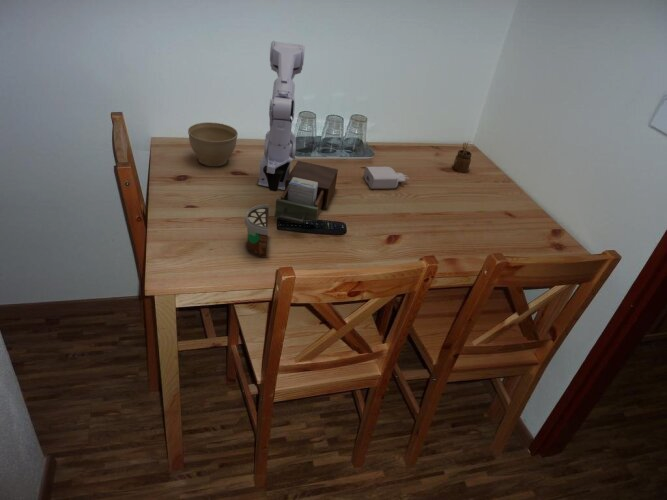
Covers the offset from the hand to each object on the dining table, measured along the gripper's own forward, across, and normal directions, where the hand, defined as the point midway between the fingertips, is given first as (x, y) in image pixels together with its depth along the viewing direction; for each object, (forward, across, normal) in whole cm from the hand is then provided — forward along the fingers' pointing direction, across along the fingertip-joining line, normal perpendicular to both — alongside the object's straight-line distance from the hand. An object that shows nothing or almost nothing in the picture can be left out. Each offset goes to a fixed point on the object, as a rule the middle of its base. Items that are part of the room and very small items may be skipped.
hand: (276, 185), depth 146 cm
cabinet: (+10, +17, -7) cm, 21 cm away
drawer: (+9, +2, -7) cm, 12 cm away
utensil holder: (+10, +62, -56) cm, 84 cm away
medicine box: (+8, +5, -7) cm, 12 cm away
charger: (+10, +37, -30) cm, 49 cm away
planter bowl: (+10, +26, +30) cm, 41 cm away
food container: (+10, -17, 0) cm, 20 cm away
